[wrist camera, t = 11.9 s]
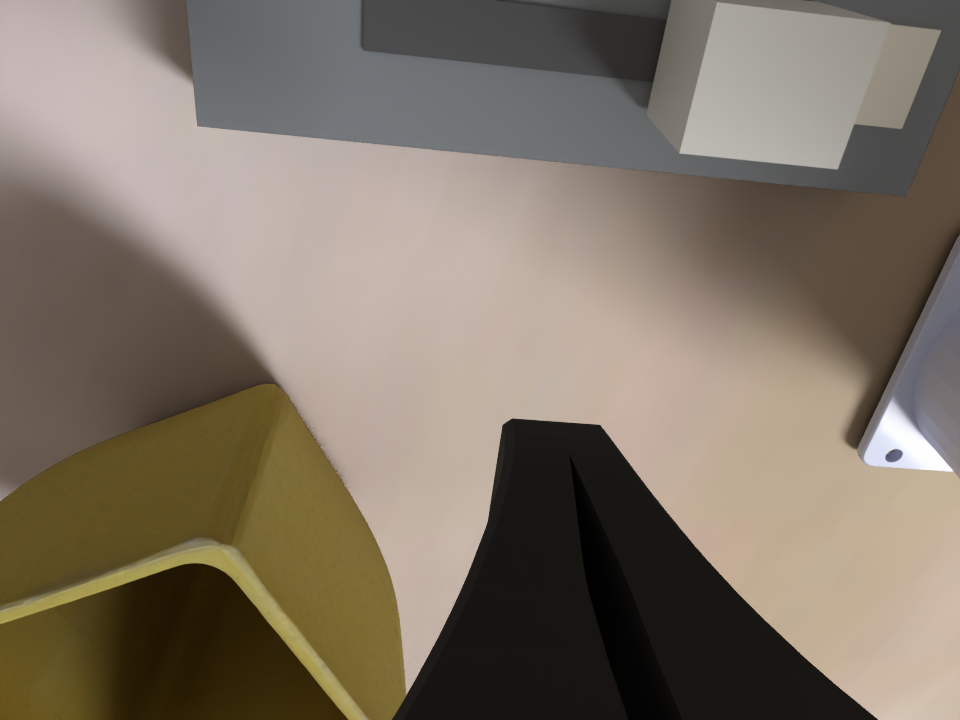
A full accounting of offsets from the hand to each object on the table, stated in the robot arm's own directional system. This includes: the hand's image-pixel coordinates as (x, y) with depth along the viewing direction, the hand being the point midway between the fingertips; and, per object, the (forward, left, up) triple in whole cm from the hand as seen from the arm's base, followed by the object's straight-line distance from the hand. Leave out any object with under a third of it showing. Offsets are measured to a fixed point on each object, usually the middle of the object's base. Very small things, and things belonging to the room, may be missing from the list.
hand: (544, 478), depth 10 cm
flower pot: (+7, +9, -11) cm, 16 cm away
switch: (-4, -5, -8) cm, 10 cm away
